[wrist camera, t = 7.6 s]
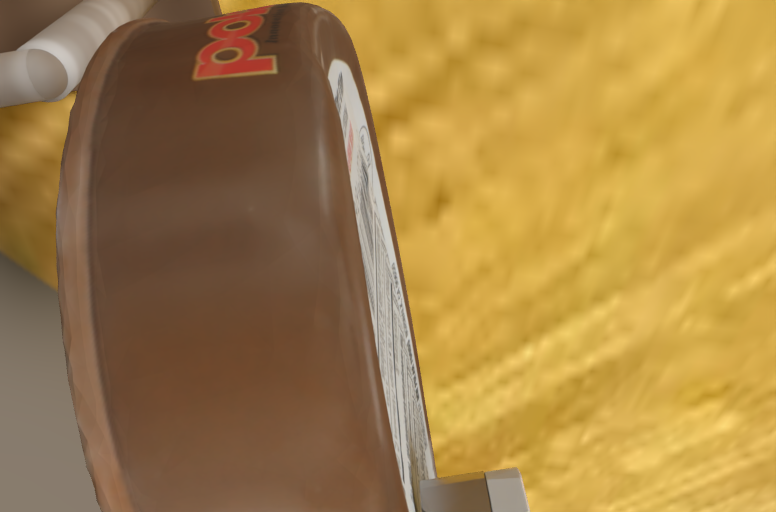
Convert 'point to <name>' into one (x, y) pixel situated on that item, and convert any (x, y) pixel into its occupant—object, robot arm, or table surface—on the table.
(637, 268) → the table surface
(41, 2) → the buzz wire frame
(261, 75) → the tin
